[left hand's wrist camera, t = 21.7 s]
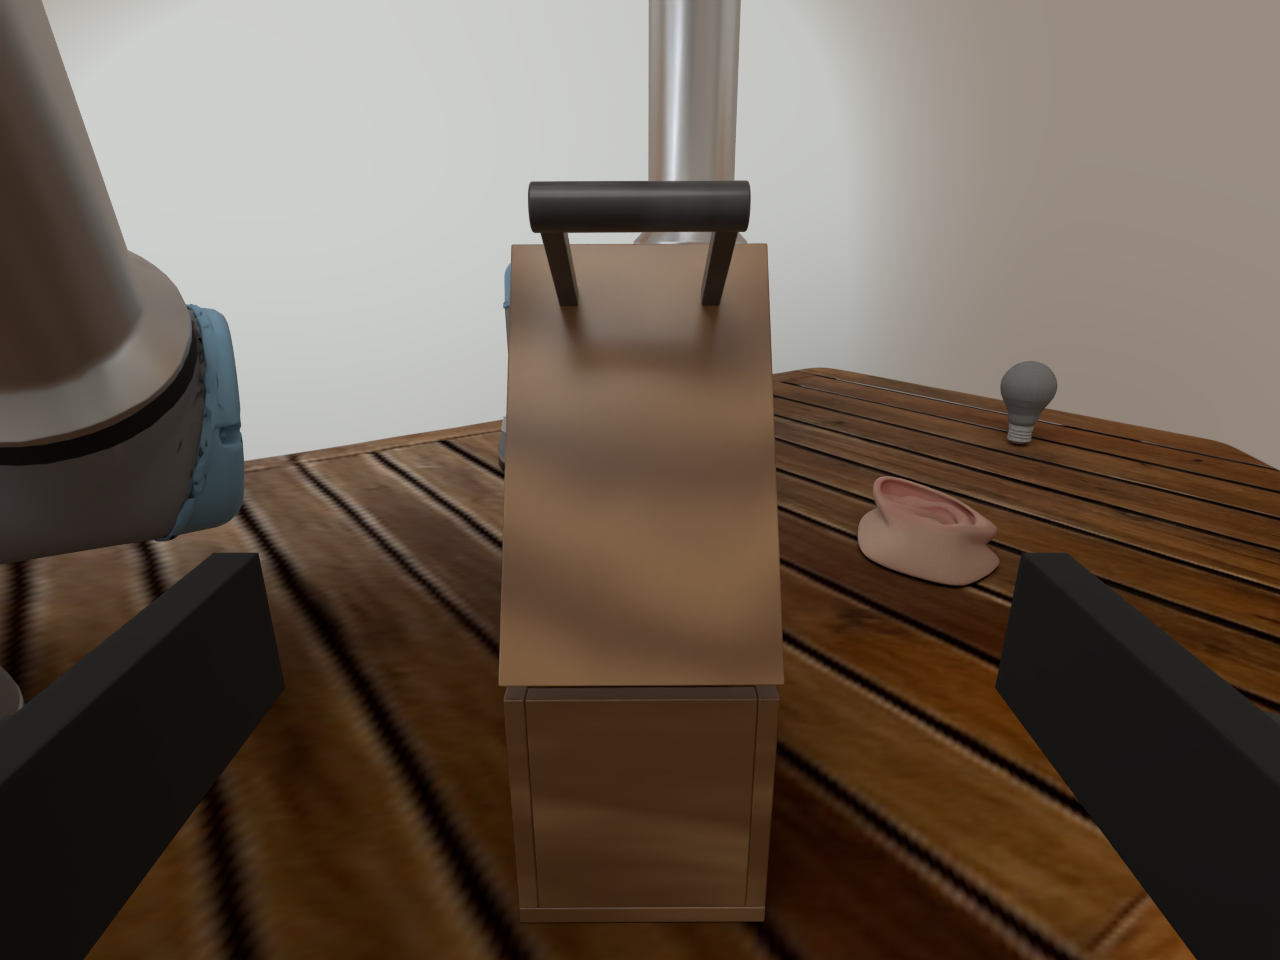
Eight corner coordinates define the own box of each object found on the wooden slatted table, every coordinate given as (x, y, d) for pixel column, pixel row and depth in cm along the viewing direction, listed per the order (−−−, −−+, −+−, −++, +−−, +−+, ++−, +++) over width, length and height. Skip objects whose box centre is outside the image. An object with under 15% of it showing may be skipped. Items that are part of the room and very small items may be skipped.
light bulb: (1000, 449, 88) (1014, 365, 84) (985, 435, 93) (998, 356, 90) (1053, 451, 87) (1070, 367, 84) (1035, 436, 92) (1050, 357, 89)
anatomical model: (1007, 546, 53) (844, 520, 57) (998, 595, 54) (839, 566, 59) (1006, 487, 64) (870, 469, 69) (999, 529, 65) (866, 509, 70)
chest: (559, 690, 44) (551, 526, 40) (723, 689, 44) (729, 526, 40) (520, 923, 29) (502, 700, 26) (764, 922, 29) (780, 699, 26)
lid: (516, 258, 29) (469, 124, 21) (762, 257, 29) (808, 123, 21) (504, 683, 26) (444, 712, 18) (778, 682, 26) (838, 711, 18)
